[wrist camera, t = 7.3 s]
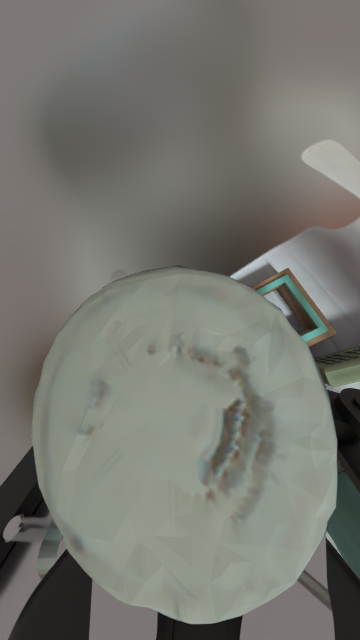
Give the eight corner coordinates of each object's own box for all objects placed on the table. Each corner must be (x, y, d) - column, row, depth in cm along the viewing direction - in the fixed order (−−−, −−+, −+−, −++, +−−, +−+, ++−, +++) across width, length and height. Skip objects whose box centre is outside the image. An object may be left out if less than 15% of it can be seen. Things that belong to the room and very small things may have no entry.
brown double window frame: (280, 275, 31) (289, 266, 27) (323, 334, 28) (339, 333, 24) (164, 336, 33) (159, 335, 30) (192, 397, 30) (190, 403, 27)
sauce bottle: (243, 358, 20) (1028, 639, 1) (207, 390, 20) (158, 1231, 1) (208, 321, 22) (196, 123, 2) (175, 351, 22) (-82, 387, 3)
